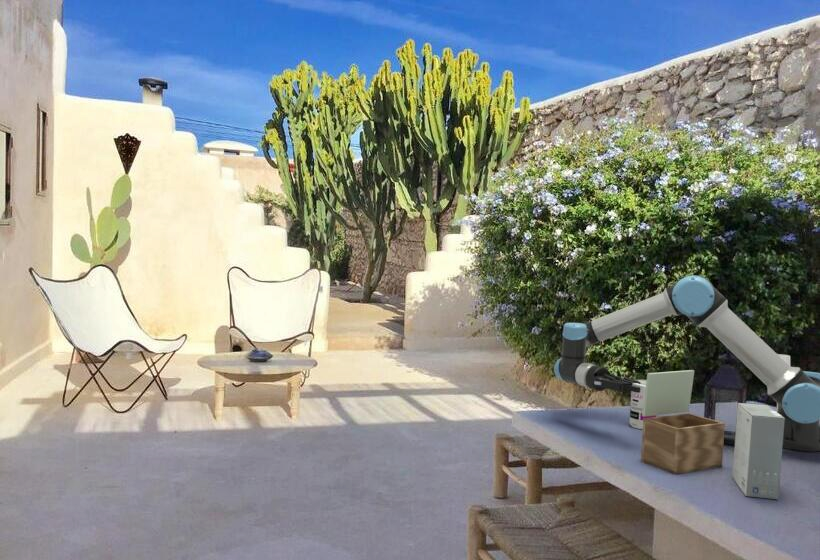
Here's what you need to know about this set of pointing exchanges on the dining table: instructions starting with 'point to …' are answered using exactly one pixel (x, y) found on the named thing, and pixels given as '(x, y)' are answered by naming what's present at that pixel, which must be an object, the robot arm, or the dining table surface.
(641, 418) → the supplement can
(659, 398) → the lid
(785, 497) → the dining table surface
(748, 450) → the hard drive box
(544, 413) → the dining table surface
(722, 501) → the dining table surface
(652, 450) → the crate
